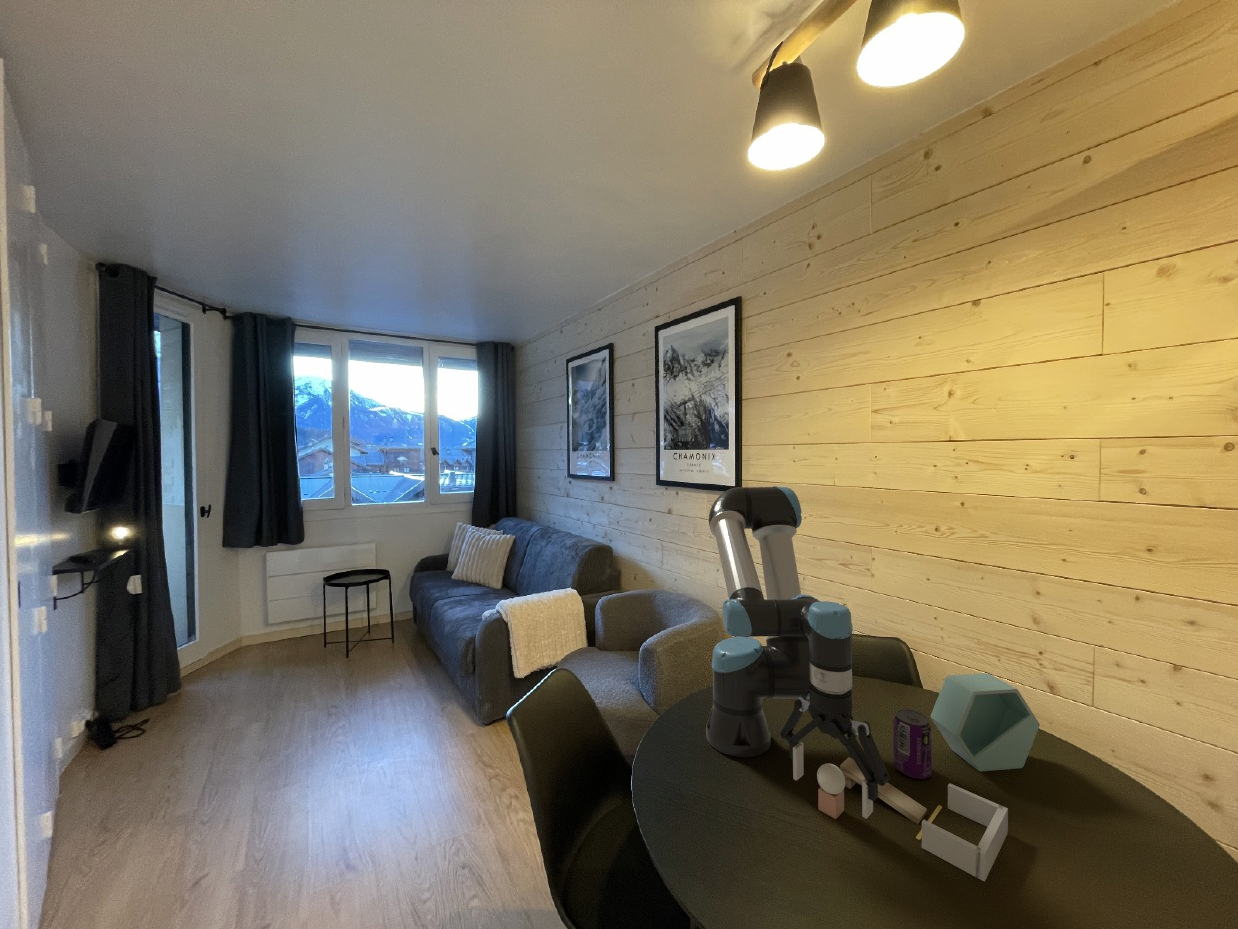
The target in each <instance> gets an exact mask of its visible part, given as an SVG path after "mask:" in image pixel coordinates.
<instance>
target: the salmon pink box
mask: <svg viewBox="0 0 1238 929" xmlns="http://www.w3.org/2000/svg"><path fill="white" fill-rule="evenodd" d="M817 791H818V794H817V796H818V799H817V800H818V803H817V806H818V807H817V808H818V810H819V811H820V812H822V813H824V814H825V815H828V816H829V817H831V818H833V819H834V820H837V818H839V817H840V815H841V814H842V813H844V812H845V789H843V791H842V792H841V793H839V794H829V793H827V792H826V791H824V790H823V789H822V788H821V786H820V787H819V788H818V790H817Z"/></svg>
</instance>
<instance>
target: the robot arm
mask: <svg viewBox="0 0 1238 929" xmlns="http://www.w3.org/2000/svg"><path fill="white" fill-rule="evenodd" d="M802 520H803V517H802V507H801V503H800V500H799V498H798V496H797V494H796V492H795V491H794V490H792V488H790V487H786V486H777V485H773V486H754V487H752V486H748V487H747V486H746V487H745V486H744V487H743V486H742V487H741V486H740V487H739V486H737V487H733V488H729V489H726V491H724V492H722V493H721V494H720V495H719V496H718V497H717V498H715V501H714V502H713V504H712V505H711V508H710V510H709V514H708V525H709V530H710V532H711V534H712V535H713V536H714V537H715V540H716V545H717V549H718V554H719V558H720V562H721V569H722V573H723V577H724V582H725V585H726V592H727V595H728V599H725V600H724V601H723V604H722V610H721V612H722V624H723V628H724V631H725V633H726V634H727V635H728V636H731V637H730V638H725V639H723V640H720V642H718V643H717V644H715V646H714V648H713V649H712V662H711V668H712V669H711V670H712V707H711V709H710V713H709V716H708V718H707V722H706V726H705V736H706V740H707V742H708V744H710V745H711V747H713V749H715V750H716V751H718V752H720V753H722V754H725V755H727V756H731V757H737V758H754V757H757V756H758V757H759V756H761V755H762V754H764V753H766V752H767V751H768V750H769V749H770V747H771V730H770V728H769V725H768V723H767V722H768V721H767V719H766V715H765V713H764V710H763V701H764V700H763V699H777V700H779V699H784V700H785V699H790V700H791V699H792V700H793V699H795V700H794V703H793V710H792V712H791V713H790V716H789V717H788V719H787V721H786V722H785V724H784V726H783V728H782V730H781V731H780V732H779V735H780V738H782V739H783V740H784V739H785V740H786V741H787V742H788V744H789V745H788V746H789V749H788V751H789V759H790V760H792V772H793V773H792V775H793V781H794V780H795V781H798V780H799V779H801V778H802V777H803V776H804V774H805V773H804V772H805V770H804V743H803V742H801V740H802V739H803V738H805V737H806V736H807V735H808V734H809V733H811V732H812V731H814V730H815V729H816V728H817V729H818V731H820V733H822V734H825V735H829V736H830V737H832V738H833V739H835V740H836V739H838V740H839V742H840V743H841V745H842V746H844V747H845V748H846V750H847V751H848V753H849V754H850V755H849V756H851V758H852V759H853V760H854V761H855V763H856V764H857V766H858V767H859V769H860V771H861V772H862V774H863V775H864V777H865V779H864V780H863V781H862V785H861V791H862V792H861V793H862V794H861V798H862V799H861V801H862V802H861V803H862V804H861V805H862V806H861V808H862V811H861V813H862V814H861V816H862V817H863V818H864V819H868V818H869V817H870V815H872V813H874V801H876V799H878V798H879V797H878V784H879V785H881V786H884V785H885V784H886V782H887V783H888V781H890V778H891V777H890V774H889V772H888V769H887V768H886V764H885V763H884V761H883V759H882V758H883V757H882V756H881V754H880V752H879V749H878V746H877V745H876V742H875V741H874V738H873V736H872V731H871V730H872V728H871V724H870V722H869V721H866V720H865V721H863V722H861V721H857V720H854V718H853V715H852V714H853V713H852V712H853V691H852V688H853V670H852V667H853V663H852V662H853V660H852V659H853V658H852V657H853V654H852V652H853V651H852V650H853V649H852V648H853V646H852V645H853V624H852V612H851V610H850V608H848V607H847V606H846V605H844V604H840V603H838V602H834V601H828V600H827V601H823V600H819V599H817V598H815V597H814V596H812V595H809V594H805V593H803V594H802V591H801V584H800V578H799V572H798V568H797V560H796V556H795V549H794V542H793V537H794V536H795V535H796V534H797V533H798V531H797V529H798V528H800V526H801V524H802ZM746 529H747V530H749V529H750V530H751V533H752V538H754V539H755V540H757V541H758V543H759V549H760V550H759V551H760V556H761V564H762V573H763V579H764V586H765V593H766V596H765V597H766V599H765V597H764V593H763V589H762V586H761V583H760V580H759V577H758V576H759V575H758V573H757V569H756V566H755V562H754V558H753V556H752V552H751V549H750V546H749V542H748V538H747V534H746V532H745V530H746ZM755 637H766V638H765V642H766V644H765V645H763V644H762V642H761V641H760V640H759V639H757V638H755ZM808 699H809V701H808ZM806 711H808V713H809V714H810V716H811V718H812V720H811V721H810V722H809V723H807V724H806V725H805V726H804V727H802V728H801V729H800V730H799V731H797V732H796V733H795V734H794V733H793V731H794V730H795V728H796V726H797V725H798V722H799V721H800V719H801V718H802V716H803V715H804V713H805V712H806ZM853 730H855V732H854V731H853ZM846 735H847V736H846ZM857 736H858V740H859V742H860V743H859V742H858V740H857Z"/></svg>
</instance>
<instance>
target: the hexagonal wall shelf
mask: <svg viewBox="0 0 1238 929" xmlns="http://www.w3.org/2000/svg"><path fill="white" fill-rule="evenodd" d="M929 717H930V719H931V721H932V722H933V724H934V725H935V726H936V728H937V729H938V731H939V732H940V734H941V735H942V738H943V739H944V740H945V741H946V743H947V745H948V746H949V748H950V749H951V750H952V751H953V752H954V753H955V754H957V755H958V756H959V757H960V758H962V759H963V761H964V760H965V762H967V763H968V764H969V765H970V766H972V767H973V768H974V769H975V770H977V771H978V772H989V771H990V772H991V771H992V772H993V771H1002V770H1003V771H1004V770H1005V771H1006V770H1015V769H1022V768H1023V767H1024V766H1025V763H1026V761H1027V758H1028V756H1029V754H1030V751H1031V748H1032V746H1033V744H1034V741H1035V738H1036V736H1037V733H1038V731H1039V728H1040V725H1041V724H1040V722H1039V720H1038V719H1037V718H1036V716H1035V714H1034V713H1033V711H1032V710H1031V707H1030V706H1029V704H1028V703H1027V701H1026V700H1025V698H1024V697H1023V696H1022V694H1021V692H1020V690H1018V688H1016V687H1014V686H1012V685H1011V684H1009V683H1007V682H1005V681H1003V680H1001V679H999V678H998V677H995V676H994V675H992V674H990V673H988V672H985V673H983V672H982V673H968V674H967V673H966V674H956V675H955V674H951V675H950V674H949V675H946V676H945V679H944V681H943V683H942V686H941V688H940V691H939V694H938V696H937V699H936V701H935V704H934V706H933V709H932V711H931V714H930V716H929Z"/></svg>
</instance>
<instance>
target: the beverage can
mask: <svg viewBox="0 0 1238 929" xmlns="http://www.w3.org/2000/svg"><path fill="white" fill-rule="evenodd" d="M929 719H930V718H929V717H928V716H927V715H926V714H925V713H923V712H921V711H918V710H915V709H912V708H898V709H897V710H895V715H894V717H893V719H892V740H893V741H892V764H893V766H894V768H895V769H896V770H897V771H899V772H901V773H902V774H904V775H905V776H907V777H910V778H913V779H927V778H929V777H931V776H932V772H933V771H932V764H933V763H932V759H933V758H932V749H933V748H932V747H933V746H932V743H933V742H932V741H933V740H932V726H931V725H930V720H929Z"/></svg>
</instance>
